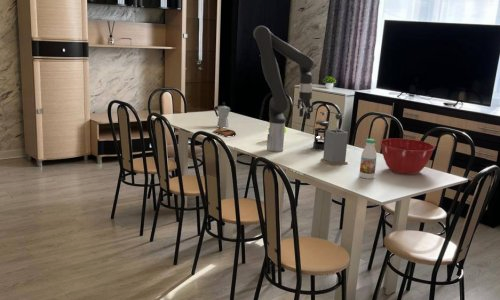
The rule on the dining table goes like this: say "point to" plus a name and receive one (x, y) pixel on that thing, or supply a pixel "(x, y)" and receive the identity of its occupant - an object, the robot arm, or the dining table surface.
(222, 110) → the coffee maker
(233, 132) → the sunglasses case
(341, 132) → the grey upright prism
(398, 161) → the mixing bowl
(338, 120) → the plunger
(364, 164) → the milk bottle
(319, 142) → the french press
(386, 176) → the dining table surface
